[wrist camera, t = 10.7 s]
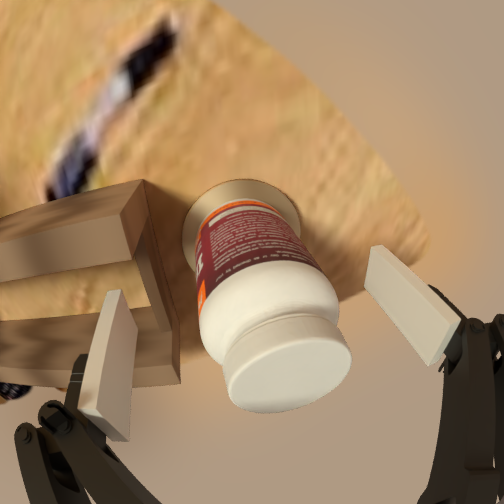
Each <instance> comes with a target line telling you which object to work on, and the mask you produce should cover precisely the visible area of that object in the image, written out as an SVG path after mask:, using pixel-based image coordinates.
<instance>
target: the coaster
mask: <svg viewBox="0 0 504 504" xmlns="http://www.w3.org/2000/svg"><path fill="white" fill-rule="evenodd" d="M243 198H247V199H255V200H259V201H262V202H265V203H267V204H269V205H270V206H272V207H273V208H274V209H276V210H277V211H278V212H279V213H280V214H281V215H282V216H283V218H284V219H285V220H286V221H287V223H288V224H289V226H290V227H291V228H292V229H293V231H294V232H295V234H296V235H297V236H298V238H299V239H300V234H301V229H300V221H299V217H298V214H297V212H296V210H295V208H294V206H293V205H292V203H291V202H290V201H289V199H288V198H287V197H286V196H285V195H284V194H283V193H282V192H281V191H279V190H278V189H276V188H275V187H273V186H271V185H270V184H267V183H265V182H262V181H258V180H253V179H235V180H230V181H226V182H223V183H220V184H218V185H216V186H214V187H212V188H210V189H209V190H207V191H206V192H205V193H203V194H202V195H201V196H200V197H199V198H198V199H197V200H196V201H195V202H194V204H193V205H192V207H191V208H190V210H189V212H188V214H187V216H186V218H185V221H184V225H183V231H182V246H183V252H184V255H185V258H186V260H187V262H188V264H189V265H190V267H191V269H192V270H193V271H194V272H195V273H196V262H195V239H196V234H197V231H198V228H199V226H200V224H201V223H202V221H203V220H204V218H205V217H206V216H207V215H208V214H209V213H210V212H211V211H212V210H213V209H215V208H216V207H218V206H219V205H221V204H223V203H225V202H228V201H231V200H235V199H243Z"/></svg>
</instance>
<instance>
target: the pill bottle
mask: <svg viewBox="0 0 504 504" xmlns="http://www.w3.org/2000/svg"><path fill="white" fill-rule="evenodd" d="M195 262H196V281H197V298H198V314H199V327H200V335H201V339H202V342H203V345H204V347H205V349H206V350H207V352H208V353H209V355H210V356H211V357H212V358H213V359H214V360H215V361H216V362H217V363H219V364H220V365H222V366H223V374H224V377H225V380H226V386H227V390H228V394H229V397H230V399H231V400H232V402H233V403H234V404H235V405H236V406H238V407H240V408H242V409H244V410H247V411H250V412H256V413H278V412H284V411H288V410H293V409H296V408H299V407H302V406H305V405H307V404H309V403H312V402H314V401H316V400H318V399H320V398H321V397H323V396H325V395H326V394H328V393H329V392H330V391H332V390H333V389H334V388H336V387H337V386H338V385H339V384H340V383H341V382H342V381H343V379H344V378H345V376H346V375H347V374H348V372H349V370H350V367H351V364H352V355H351V351H350V349H349V347H348V345H347V343H346V341H345V339H344V337H343V335H342V333H341V332H340V330H339V328H338V327H337V322H338V318H339V302H338V298H337V295H336V292H335V290H334V288H333V286H332V285H331V283H330V282H329V280H328V278H327V277H326V275H325V274H324V273H323V271H322V270H321V268H320V267H319V266H318V264H317V263H316V261H315V260H314V259H313V257H312V256H311V254H310V253H309V252H308V250H307V249H306V247H305V246H304V245H303V243H302V242H301V240H300V239H299V238H298V236H297V235H296V234H295V232H294V231H293V229H292V228H291V227H290V226H289V224H288V223H287V221H286V220H285V219H284V218H283V216H282V215H281V214H280V213H279V212H278V211H277V210H276V209H274V208H273V207H272V206H270V205H269V204H267V203H265V202H262V201H259V200H255V199H247V198H243V199H235V200H231V201H228V202H225V203H223V204H221V205H219V206H218V207H216V208H215V209H213V210H212V211H211V212H210V213H209V214H208V215H207V216H206V217H205V218H204V220H203V221H202V223H201V224H200V226H199V228H198V231H197V234H196V239H195Z"/></svg>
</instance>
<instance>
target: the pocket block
mask: <svg viewBox="0 0 504 504" xmlns="http://www.w3.org/2000/svg"><path fill="white" fill-rule="evenodd" d="M133 255H135V258H136V262H137V265H138V268H139V271H140V274H141V277H142V281H143V284H144V287H145V290H146V292H147V295H148V298H149V301H150V304H151V307H143V308H135V309H129V310H130V312H131V314H132V317H133V319H134V321H135V324H136V326H137V328H138V334H137V341H136V350H135V359H134V368H133V379H132V388H135V387H152V386H163V385H175V384H181V379H180V324H179V321H178V317H177V314H176V311H175V308H174V305H173V301H172V298H171V294H170V291H169V288H168V284H167V281H166V277H165V273H164V270H163V266H162V262H161V258H160V254H159V250H158V246H157V242H156V238H155V234H154V230H153V225H152V221H151V217H150V212H149V207H148V203H147V198H146V193H145V188H144V182H143V179H140V180H135V181H130V182H126V183H121V184H117V185H112V186H108V187H104V188H99V189H95V190H91V191H87V192H83V193H80V194H76V195H72V196H68V197H65V198H61V199H58V200H54V201H51V202H48V203H44V204H41V205H38V206H35V207H32V208H28V209H25V210H22V211H19V212H17V213H14V214H11V215H8V216H5V217H2V218H0V282H5V281H11V280H16V279H22V278H27V277H33V276H38V275H44V274H50V273H56V272H61V271H67V270H73V269H79V268H85V267H90V266H96V265H102V264H108V263H114V262H120V261H126V260H132V258H133ZM99 316H100V313H93V314H83V315H73V316H63V317H52V318H40V319H27V320H13V321H0V382H6V383H14V384H22V385H31V386H43V387H57V388H68V385H69V383H70V377H71V375H72V369H73V365H74V362H75V361H76V359H77V358H78V356H79V355H80V354H89V352H90V348H91V344H92V340H93V337H94V333H95V330H96V326H97V323H98V319H99Z"/></svg>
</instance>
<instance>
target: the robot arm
mask: <svg viewBox="0 0 504 504" xmlns="http://www.w3.org/2000/svg"><path fill="white" fill-rule="evenodd" d="M364 288H365V289H366V290H367V291H368V292H369V294H370V295H371V296H372V297H373V298H374V299H375V301H376V302H377V303H378V304H379V305H380V307H381V308H382V309H383V310H384V312H385V313H386V314H387V315H388V316H389V318H390V319H391V320H392V321H393V322H394V324H395V325H396V326H397V328H399V330H400V331H401V333H402V334H403V335H404V336H405V338H406V339H407V340H408V341H409V343H410V344H411V345H412V347H413V348H414V349H415V351H416V352H417V353H418V355H419V356H420V357H421V358H422V360H423V361H424V363H425V364H426V365H427V366H430V365H432V364H434V363H436V362H438V361H439V359H440V358H441V356H442V354H443V353H444V354H445V355H446V358H445V360H444V361H443V363H442V365H441V366H440V368H439V370H438V371H439V372H440V371H441V370H442V368H443V367H444V371H443V373H444V384H443V385H444V386H443V399H442V410H441V420H440V426H439V434H438V440H437V446H436V451H435V456H434V461H433V466H432V470H431V474H430V479H429V482H428V485H427V488H426V490H425V491H424V492H423V494H422V495H421V496H420V498H419V500H418V502H417V504H496V500H497V494H498V497H499V500H500V502H498V503H497V504H504V314H497V315H496V316H495V318H494V319H493V321H492V322H491V323H485V324H484V323H483V322H482V321H481V320H479V319H476V318H469V319H467V318H466V317H465V316H464V315H463V314H462V313H461V312H460V311H459V310H458V309H457V307H455V305H453V304H452V303H451V302H449V300H448V299H447V298H446V297H444V295H443V294H442V293H441V292H440V291H439V290H438V289H437V288H435V287H433V286H431V285H426V284H425V283H424V282H423V281H422V280H421V279H420V278H419V277H418V276H417V275H416V274H415V273H414V272H413V271H411V270H410V269H409V268H408V267H407V266H406V265H405V264H404V263H403V262H401V261H400V260H399V259H398V258H397V257H396V256H395V255H393V254H392V253H391V252H390V251H389V250H388V249H386V248H385V247H384V246H383V245H377V246H372V247H371V250H370V256H369V262H368V268H367V273H366V278H365V283H364ZM137 334H138V328H137V326H136V324H135V321H134V319H133V317H132V314H131V312H130V310H129V307H128V305H127V302H126V300H125V297H124V295H123V292H122V290H121V289H118V290H111V291H107V294H106V297H105V300H104V303H103V306H102V310H101V313H100V316H99V319H98V323H97V326H96V330H95V333H94V337H93V340H92V344H91V348H90V352H89V354H80V355H79V356H78V358H77V359H76V361H75V362H74V365H73V369H72V375H71V377H70V383H69V385H68V389H67V393H66V398H65V403H64V405H63V404H62V403H61V402H59V401H57V400H50V401H48V402H46V403H45V404H44V405H43V406H42V407H41V408H40V410H39V413H38V421H39V424H40V425H41V426H42V427H40V428H35V427H34V426H33V425H32V424H30V423H27V422H26V423H22V424H21V425H19V426H18V427H17V429H16V431H15V434H14V440H15V446H16V451H17V456H18V461H19V466H20V470H21V474H22V477H23V481H24V485H25V488H26V492H27V495H28V498H29V501H30V504H91V502H90V500H89V497H88V495H87V493H86V491H85V489H86V490H87V492H88V493H89V494H90V496H91V497H92V498H93V500H94V501H95V502H96V504H162V503H160V502H159V501H158V500H157V499H156V498H155V497H154V496H153V495H152V494H151V493H150V492H149V491H148V490H147V489H146V488H145V487H144V486H143V485H142V484H141V483H140V482H139V481H138V480H137V479H136V477H135V476H133V474H132V473H131V472H130V471H129V470H128V469H127V468H126V466H125V465H124V464H123V463H122V462H121V461H120V459H119V458H118V457H117V456H116V455H115V453H114V452H113V451H112V450H111V448H110V447H109V446H108V445H107V444H106V436H107V437H108V438H109V439H111V440H112V441H124V442H129V433H130V432H129V431H130V407H131V392H132V391H131V390H132V379H133V368H134V359H135V350H136V341H137ZM499 351H500V352H501V356H500V358H499V359H497V357H496V355H497V354H498V352H499ZM493 458H494V461H495V468H494V467H493ZM84 487H85V489H84Z"/></svg>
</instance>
